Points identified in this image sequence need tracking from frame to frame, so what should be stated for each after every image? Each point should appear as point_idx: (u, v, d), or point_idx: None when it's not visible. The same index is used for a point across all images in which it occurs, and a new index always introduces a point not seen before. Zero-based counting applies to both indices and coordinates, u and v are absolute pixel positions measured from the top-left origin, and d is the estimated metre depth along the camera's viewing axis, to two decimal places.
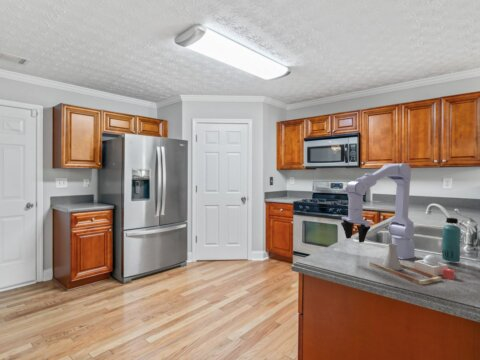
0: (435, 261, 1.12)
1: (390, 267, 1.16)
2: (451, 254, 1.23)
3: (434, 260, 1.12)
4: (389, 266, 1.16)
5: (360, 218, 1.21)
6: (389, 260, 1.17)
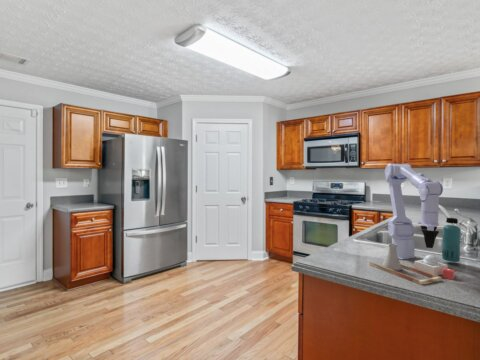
0: (435, 261, 1.12)
1: (390, 267, 1.16)
2: (451, 254, 1.23)
3: (434, 260, 1.12)
4: (389, 266, 1.16)
5: (430, 222, 1.12)
6: (389, 260, 1.17)
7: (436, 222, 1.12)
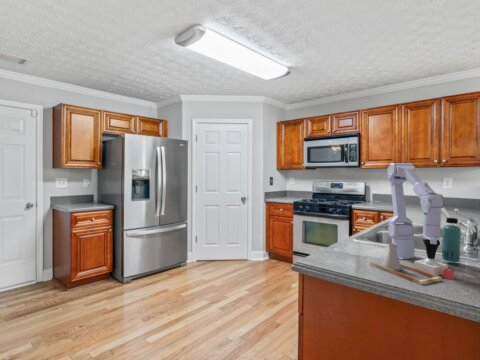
0: (435, 264, 1.12)
1: (390, 267, 1.16)
2: (451, 254, 1.23)
3: (434, 263, 1.12)
4: (389, 266, 1.16)
5: (432, 235, 1.12)
6: (389, 260, 1.17)
7: (438, 235, 1.11)
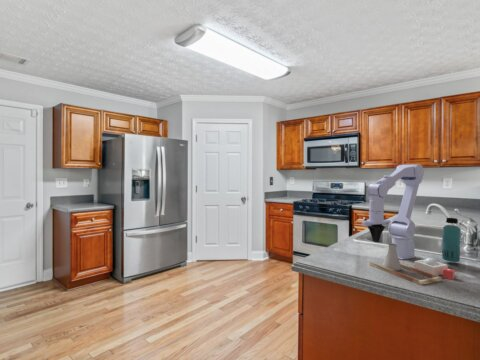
0: (435, 264, 1.12)
1: (390, 267, 1.16)
2: (451, 254, 1.23)
3: (434, 263, 1.12)
4: (389, 266, 1.16)
5: (371, 219, 1.24)
6: (389, 260, 1.17)
7: (377, 220, 1.23)
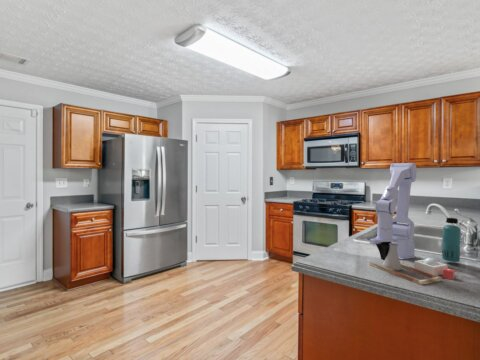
0: (435, 264, 1.12)
1: (390, 267, 1.16)
2: (451, 254, 1.23)
3: (434, 263, 1.12)
4: (389, 266, 1.16)
5: (380, 237, 1.20)
6: (389, 260, 1.17)
7: (386, 238, 1.19)
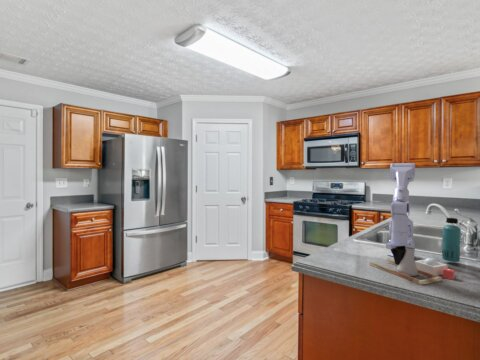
0: (435, 264, 1.12)
1: (407, 272, 1.09)
2: (451, 254, 1.23)
3: (434, 263, 1.12)
4: (406, 271, 1.10)
5: (395, 241, 1.13)
6: (406, 264, 1.10)
7: (402, 242, 1.12)
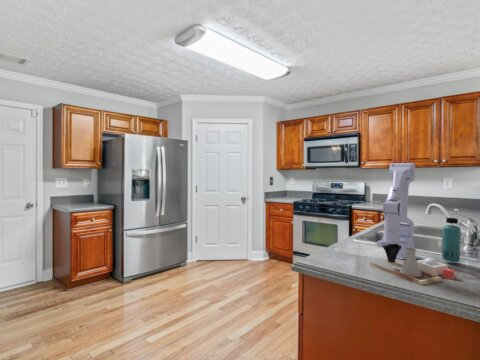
0: (435, 264, 1.12)
1: (411, 274, 1.08)
2: (451, 254, 1.23)
3: (434, 263, 1.12)
4: (409, 273, 1.08)
5: (387, 239, 1.17)
6: (409, 266, 1.09)
7: (393, 240, 1.16)
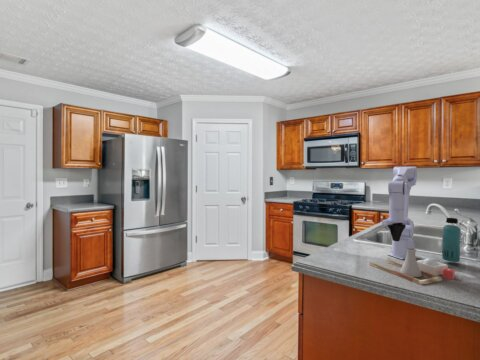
0: (435, 264, 1.12)
1: (411, 274, 1.08)
2: (451, 254, 1.23)
3: (434, 263, 1.12)
4: (409, 273, 1.08)
5: (392, 218, 1.21)
6: (409, 266, 1.09)
7: (398, 219, 1.19)
